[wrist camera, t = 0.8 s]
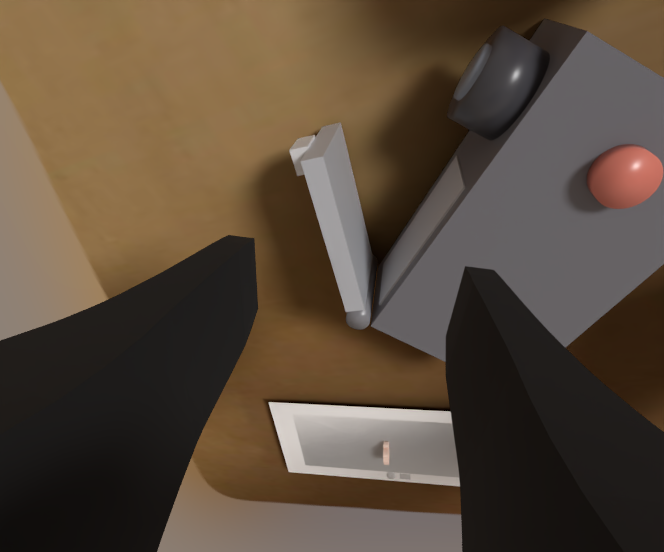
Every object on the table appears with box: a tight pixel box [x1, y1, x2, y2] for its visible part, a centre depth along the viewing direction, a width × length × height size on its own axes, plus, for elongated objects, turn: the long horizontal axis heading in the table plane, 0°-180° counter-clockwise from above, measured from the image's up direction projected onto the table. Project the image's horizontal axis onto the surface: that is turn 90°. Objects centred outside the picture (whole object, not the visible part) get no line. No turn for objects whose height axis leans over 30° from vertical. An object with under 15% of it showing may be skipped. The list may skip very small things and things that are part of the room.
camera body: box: [371, 18, 664, 362], centre depth 17 cm, size 9×12×5 cm
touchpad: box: [268, 402, 460, 486], centre depth 29 cm, size 8×15×2 cm, turn 96°
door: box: [289, 123, 378, 330], centre depth 18 cm, size 8×2×5 cm, turn 14°
